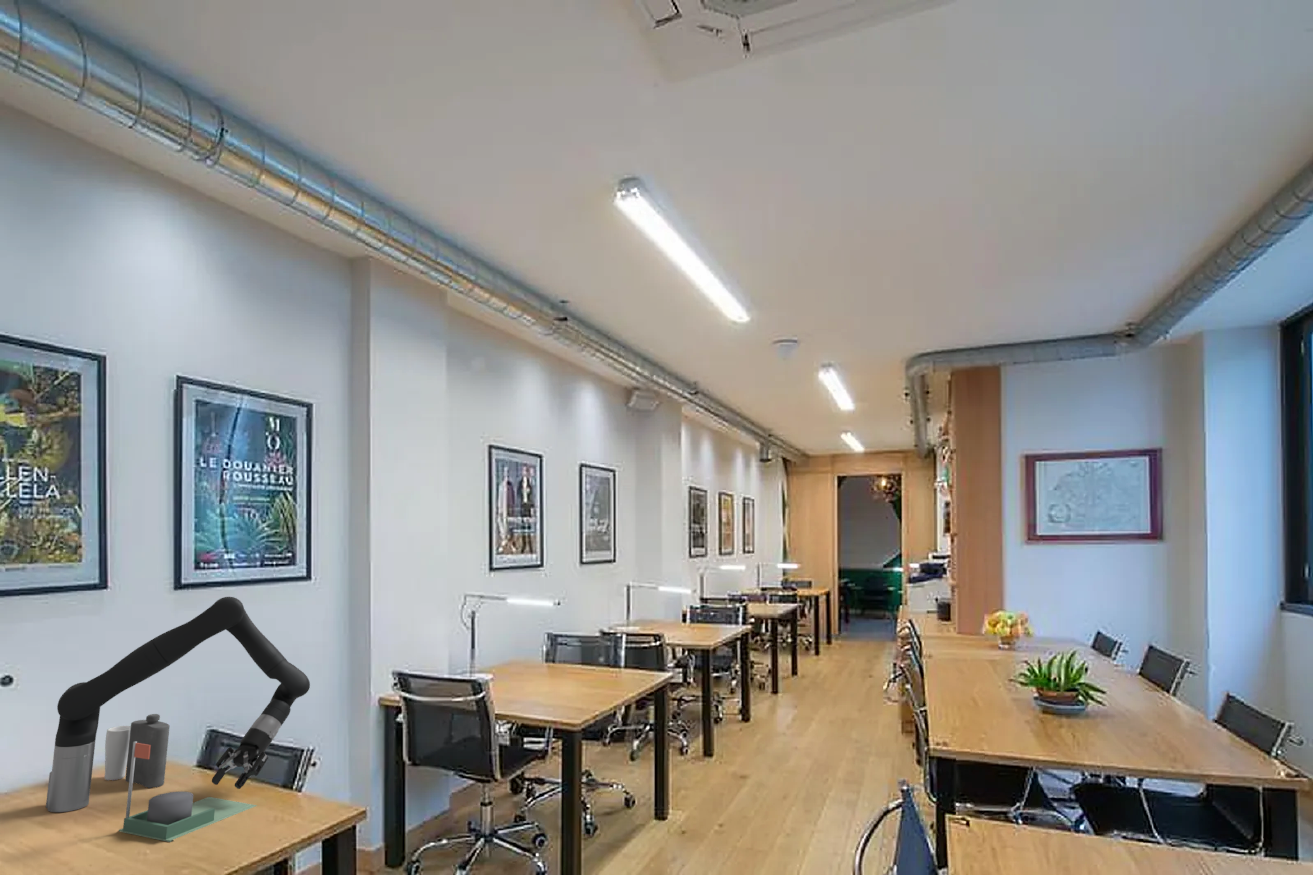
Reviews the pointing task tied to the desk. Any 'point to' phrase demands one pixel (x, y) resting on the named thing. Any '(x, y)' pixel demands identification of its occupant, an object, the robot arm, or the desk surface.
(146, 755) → the mini golf green
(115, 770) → the drinking glass
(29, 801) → the desk surface
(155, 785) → the flask
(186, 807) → the grey domed cylinder
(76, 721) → the robot arm
